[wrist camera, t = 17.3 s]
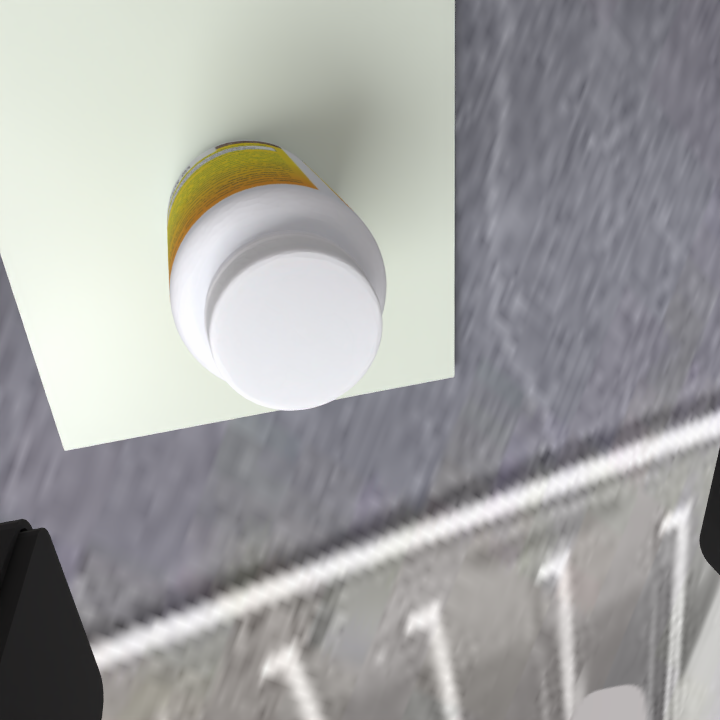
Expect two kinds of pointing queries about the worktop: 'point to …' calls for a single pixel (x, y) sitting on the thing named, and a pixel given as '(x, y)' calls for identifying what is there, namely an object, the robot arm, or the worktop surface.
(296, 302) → the supplement bottle
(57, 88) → the sage mat
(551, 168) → the worktop surface
